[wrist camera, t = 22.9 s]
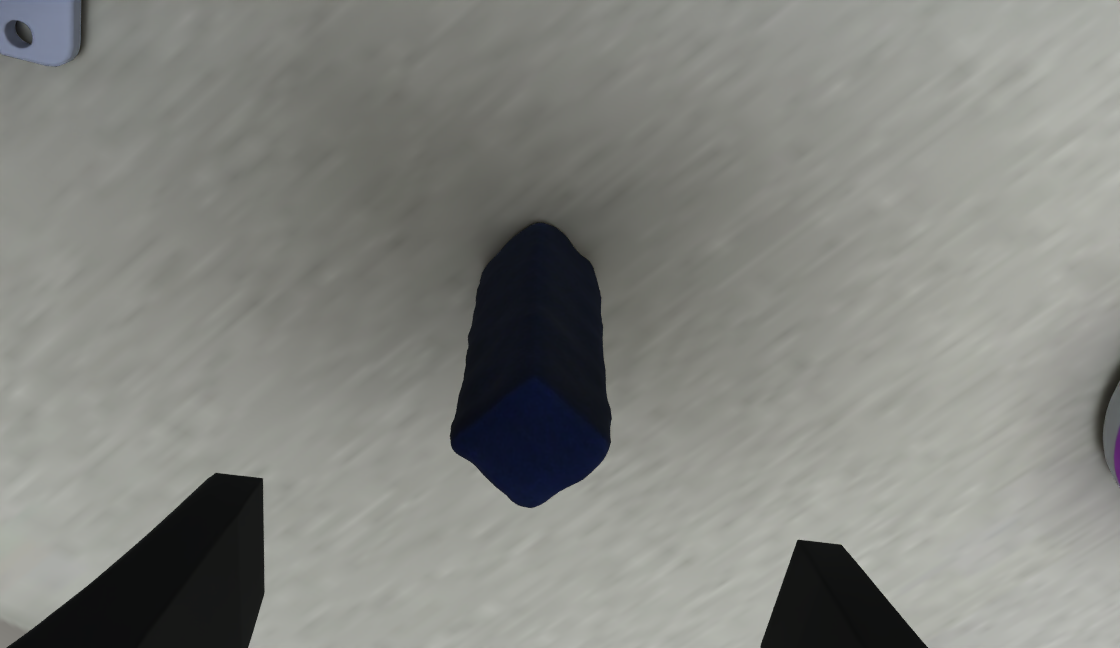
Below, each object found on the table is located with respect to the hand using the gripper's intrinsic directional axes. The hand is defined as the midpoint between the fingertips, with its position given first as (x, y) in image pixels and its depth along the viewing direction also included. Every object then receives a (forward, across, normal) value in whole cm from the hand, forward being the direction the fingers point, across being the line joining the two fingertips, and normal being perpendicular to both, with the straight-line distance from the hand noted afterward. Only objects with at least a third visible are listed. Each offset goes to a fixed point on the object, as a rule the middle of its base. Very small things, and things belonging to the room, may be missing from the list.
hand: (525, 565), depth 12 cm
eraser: (+10, 0, 0) cm, 10 cm away
